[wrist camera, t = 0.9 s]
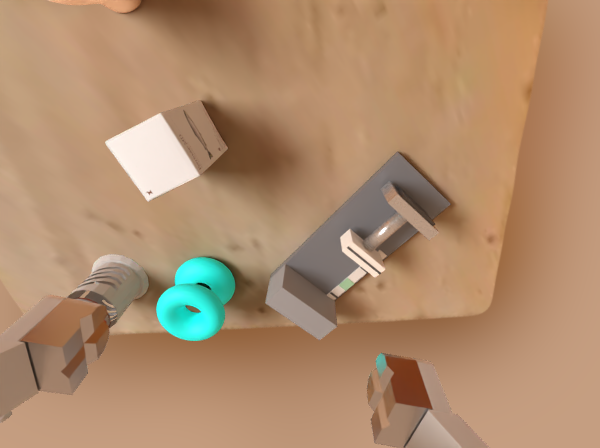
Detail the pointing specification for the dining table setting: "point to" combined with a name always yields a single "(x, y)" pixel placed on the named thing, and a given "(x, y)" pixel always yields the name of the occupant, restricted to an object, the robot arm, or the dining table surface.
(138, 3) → the beer glass
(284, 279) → the frame
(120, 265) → the french press
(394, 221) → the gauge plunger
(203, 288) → the donuts
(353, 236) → the gauge pointer
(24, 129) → the dining table surface
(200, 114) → the supplement box
